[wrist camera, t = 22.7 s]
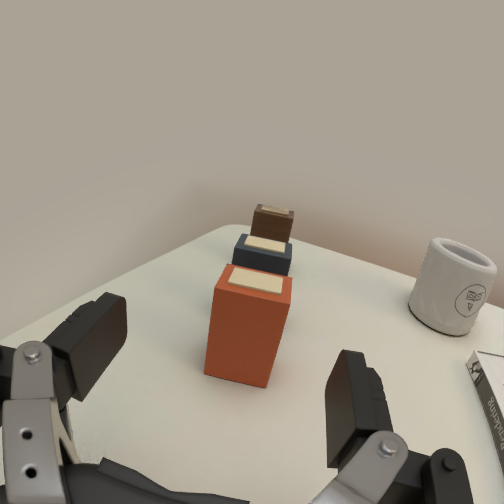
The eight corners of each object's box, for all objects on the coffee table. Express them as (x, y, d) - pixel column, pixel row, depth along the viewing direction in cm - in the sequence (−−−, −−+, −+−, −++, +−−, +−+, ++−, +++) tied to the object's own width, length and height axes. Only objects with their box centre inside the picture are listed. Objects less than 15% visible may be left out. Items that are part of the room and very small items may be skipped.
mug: (425, 335, 33) (458, 261, 29) (396, 293, 43) (419, 230, 39) (492, 339, 34) (522, 277, 30) (460, 302, 44) (482, 247, 40)
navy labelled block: (272, 333, 30) (292, 257, 27) (222, 322, 30) (234, 244, 27) (275, 312, 34) (292, 241, 31) (230, 302, 34) (242, 231, 31)
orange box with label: (266, 388, 23) (291, 301, 20) (203, 373, 23) (214, 284, 20) (270, 356, 27) (292, 275, 24) (215, 344, 27) (227, 260, 24)
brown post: (280, 275, 42) (293, 217, 39) (244, 267, 43) (254, 209, 40) (281, 263, 46) (294, 210, 43) (248, 256, 46) (258, 202, 43)
